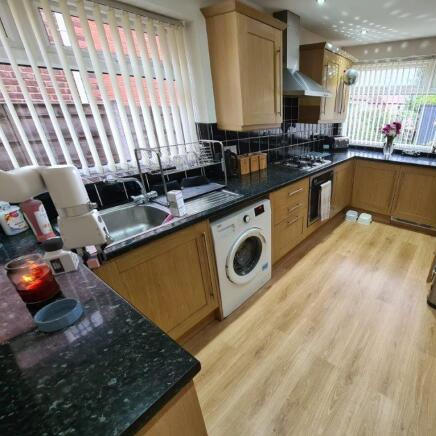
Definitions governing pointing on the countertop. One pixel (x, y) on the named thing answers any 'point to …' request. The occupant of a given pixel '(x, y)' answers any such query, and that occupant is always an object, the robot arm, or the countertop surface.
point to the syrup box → (176, 203)
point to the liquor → (37, 219)
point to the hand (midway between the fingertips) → (96, 263)
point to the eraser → (93, 261)
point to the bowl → (58, 315)
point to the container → (58, 256)
